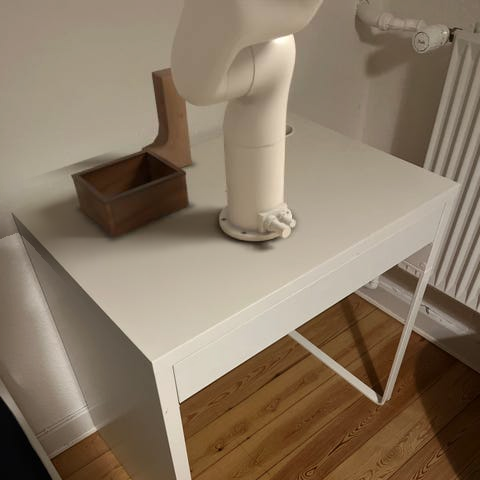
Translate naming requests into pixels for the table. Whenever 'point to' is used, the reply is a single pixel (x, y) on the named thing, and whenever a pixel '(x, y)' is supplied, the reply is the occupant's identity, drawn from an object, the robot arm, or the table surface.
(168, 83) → the wooden block
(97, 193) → the wooden box
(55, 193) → the table surface
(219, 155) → the table surface
